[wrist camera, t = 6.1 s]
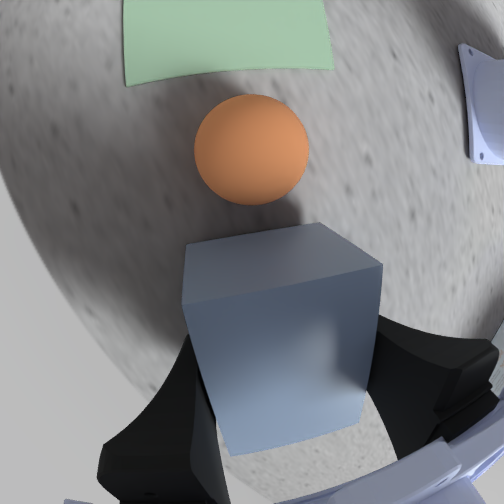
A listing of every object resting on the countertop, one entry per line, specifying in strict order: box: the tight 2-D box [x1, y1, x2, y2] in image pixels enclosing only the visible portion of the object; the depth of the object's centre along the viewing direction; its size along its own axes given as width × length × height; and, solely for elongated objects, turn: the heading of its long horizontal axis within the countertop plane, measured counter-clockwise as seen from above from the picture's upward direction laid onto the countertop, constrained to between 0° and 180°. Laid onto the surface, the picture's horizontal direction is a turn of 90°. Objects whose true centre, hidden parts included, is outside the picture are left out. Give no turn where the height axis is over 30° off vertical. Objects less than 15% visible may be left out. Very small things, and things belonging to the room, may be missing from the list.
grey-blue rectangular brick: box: [181, 222, 383, 457], centre depth 11 cm, size 6×8×5 cm
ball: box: [194, 94, 309, 205], centre depth 10 cm, size 4×4×4 cm
